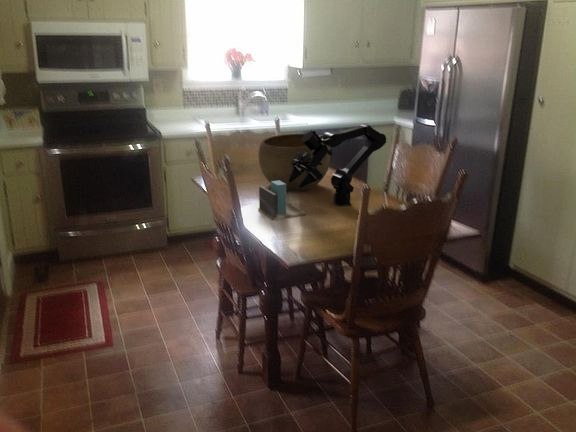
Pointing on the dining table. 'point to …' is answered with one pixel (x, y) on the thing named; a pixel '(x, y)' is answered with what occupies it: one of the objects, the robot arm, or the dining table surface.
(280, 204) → the tall teal pillar
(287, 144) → the brown bowl
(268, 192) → the grey l-shaped bracket
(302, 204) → the dining table surface
